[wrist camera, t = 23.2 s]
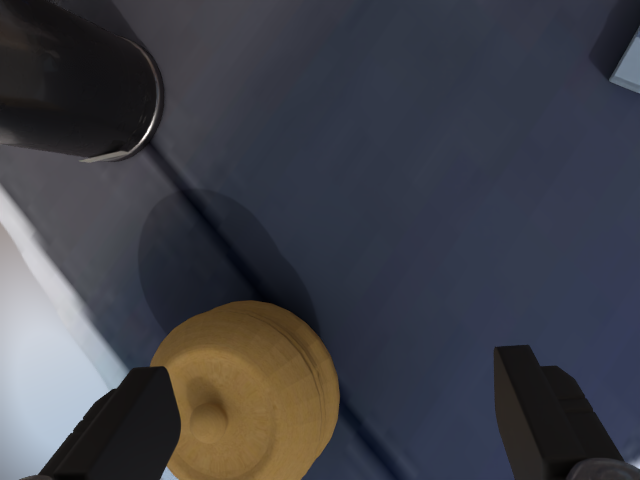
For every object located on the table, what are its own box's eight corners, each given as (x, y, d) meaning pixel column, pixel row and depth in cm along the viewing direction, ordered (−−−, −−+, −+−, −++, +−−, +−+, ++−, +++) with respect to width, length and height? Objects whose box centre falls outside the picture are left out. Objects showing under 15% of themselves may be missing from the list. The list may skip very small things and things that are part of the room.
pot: (286, 488, 37) (219, 582, 28) (173, 377, 40) (75, 427, 30) (388, 370, 35) (351, 429, 25) (260, 259, 37) (182, 273, 28)
